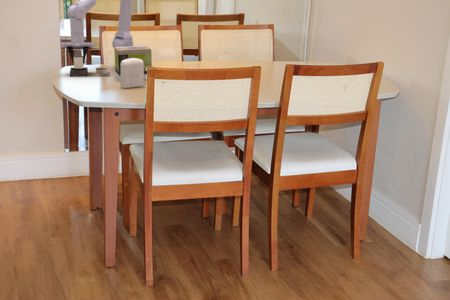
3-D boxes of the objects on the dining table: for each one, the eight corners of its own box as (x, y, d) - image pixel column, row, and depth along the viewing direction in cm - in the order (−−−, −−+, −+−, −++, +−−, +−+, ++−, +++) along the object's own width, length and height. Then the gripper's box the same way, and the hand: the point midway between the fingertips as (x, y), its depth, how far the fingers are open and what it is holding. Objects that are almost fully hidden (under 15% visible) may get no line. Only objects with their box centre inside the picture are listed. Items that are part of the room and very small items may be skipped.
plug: (83, 66, 287) (82, 49, 284) (83, 68, 283) (82, 50, 280) (74, 66, 286) (73, 49, 283) (74, 68, 282) (73, 50, 279)
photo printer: (141, 84, 275) (140, 56, 271) (145, 86, 272) (145, 58, 268) (119, 87, 270) (118, 58, 266) (123, 89, 266) (122, 60, 262)
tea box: (147, 77, 290) (147, 45, 285) (152, 82, 281) (152, 49, 276) (115, 78, 285) (114, 45, 280) (118, 83, 276) (117, 49, 271)
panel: (110, 74, 292) (110, 66, 291) (110, 78, 284) (110, 71, 283) (70, 74, 289) (70, 67, 288) (69, 79, 281) (69, 71, 280)
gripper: (59, 34, 274) (61, 65, 279) (93, 34, 277) (94, 64, 281) (60, 31, 281) (62, 61, 285) (94, 31, 283) (95, 61, 288)
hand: (78, 63), depth 284 cm, fingers closed on plug, 4 cm apart
